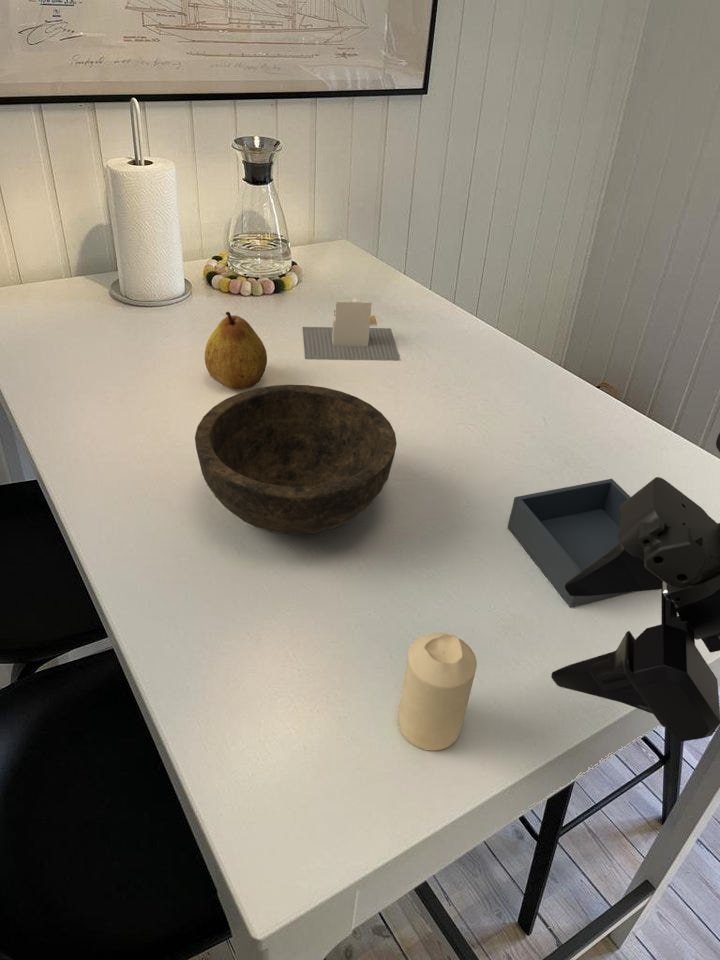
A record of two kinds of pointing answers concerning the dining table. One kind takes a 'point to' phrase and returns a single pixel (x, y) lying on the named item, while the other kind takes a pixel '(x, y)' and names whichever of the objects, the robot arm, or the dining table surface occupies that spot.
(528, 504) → the dark gray square tray
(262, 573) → the dining table surface
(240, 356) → the fruit
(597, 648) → the dining table surface
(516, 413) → the dining table surface
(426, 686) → the candle
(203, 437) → the bowl
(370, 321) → the architectural model
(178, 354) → the dining table surface
